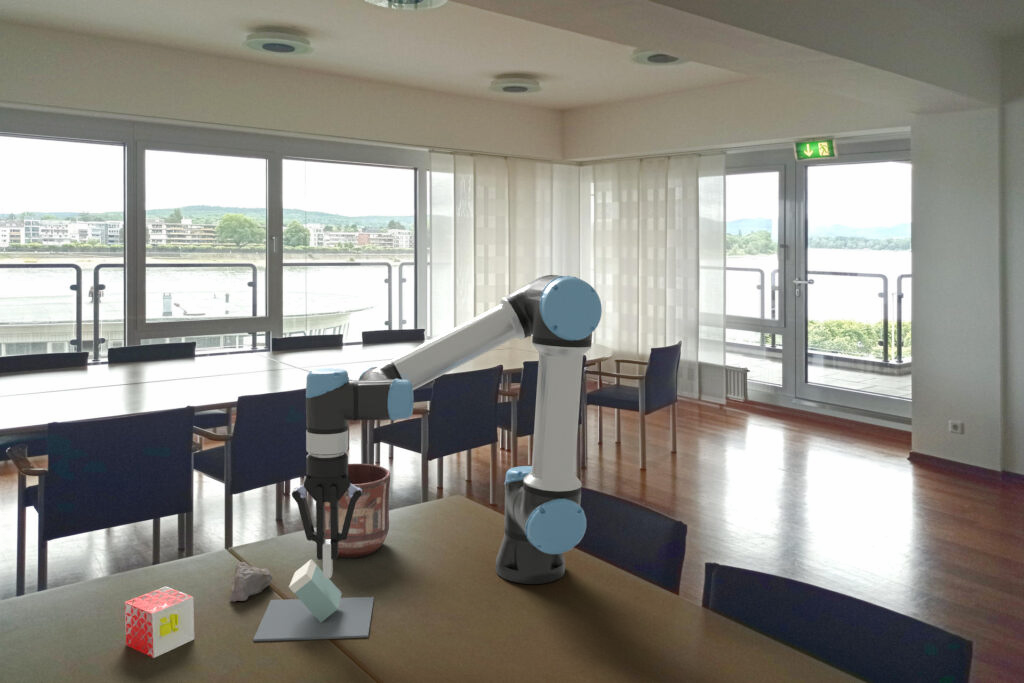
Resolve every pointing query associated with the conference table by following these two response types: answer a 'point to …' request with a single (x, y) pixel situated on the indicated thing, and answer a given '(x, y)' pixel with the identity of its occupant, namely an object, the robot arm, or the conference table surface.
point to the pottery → (363, 511)
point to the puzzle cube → (159, 621)
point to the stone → (249, 581)
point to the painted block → (315, 591)
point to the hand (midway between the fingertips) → (327, 575)
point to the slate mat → (315, 621)
